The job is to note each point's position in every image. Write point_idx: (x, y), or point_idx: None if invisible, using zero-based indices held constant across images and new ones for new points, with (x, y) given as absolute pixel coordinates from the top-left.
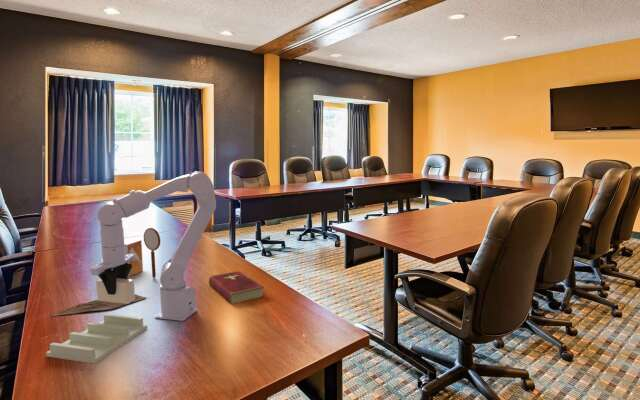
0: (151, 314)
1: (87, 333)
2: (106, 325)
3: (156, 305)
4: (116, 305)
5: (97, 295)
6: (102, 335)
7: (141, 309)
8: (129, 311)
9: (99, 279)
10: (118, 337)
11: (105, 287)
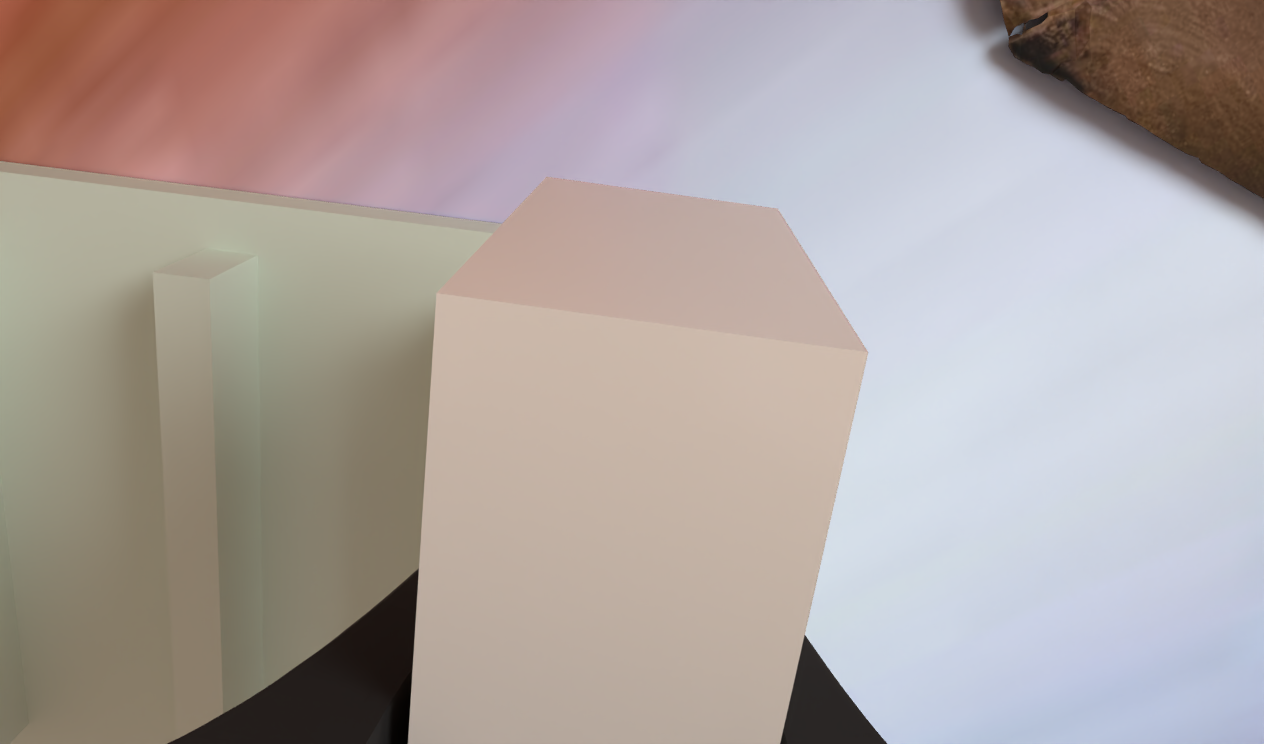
0: (877, 669)
1: (146, 291)
2: (190, 557)
3: (1179, 599)
4: (1186, 22)
5: (531, 195)
6: (156, 505)
7: (1042, 474)
8: (971, 347)
9: (549, 355)
10: (170, 691)
11: (345, 635)
